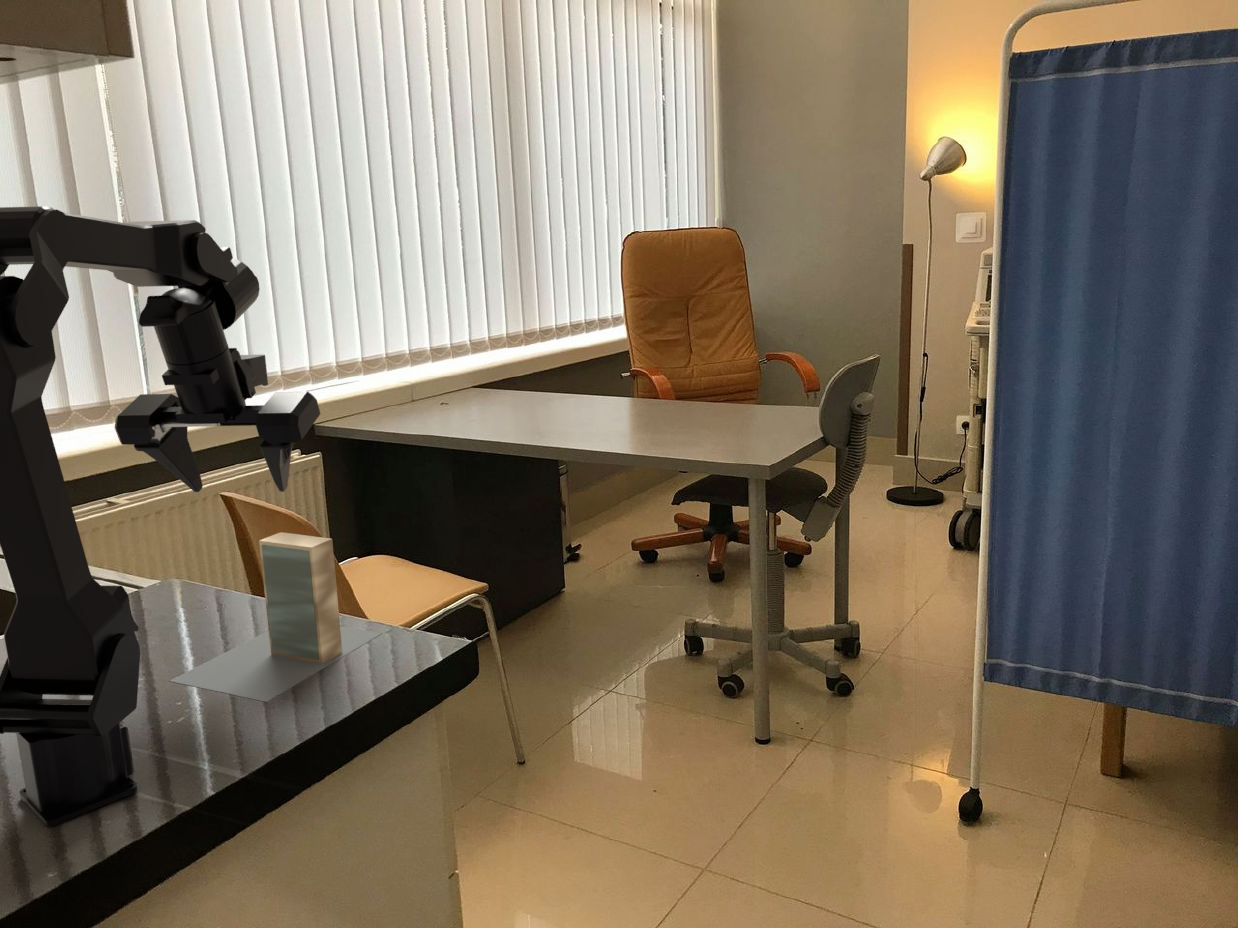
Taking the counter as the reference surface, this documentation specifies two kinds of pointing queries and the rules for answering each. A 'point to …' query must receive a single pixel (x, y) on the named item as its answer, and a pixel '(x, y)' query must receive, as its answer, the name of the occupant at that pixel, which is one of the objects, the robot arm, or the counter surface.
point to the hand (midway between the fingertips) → (241, 489)
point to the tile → (301, 597)
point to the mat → (263, 667)
